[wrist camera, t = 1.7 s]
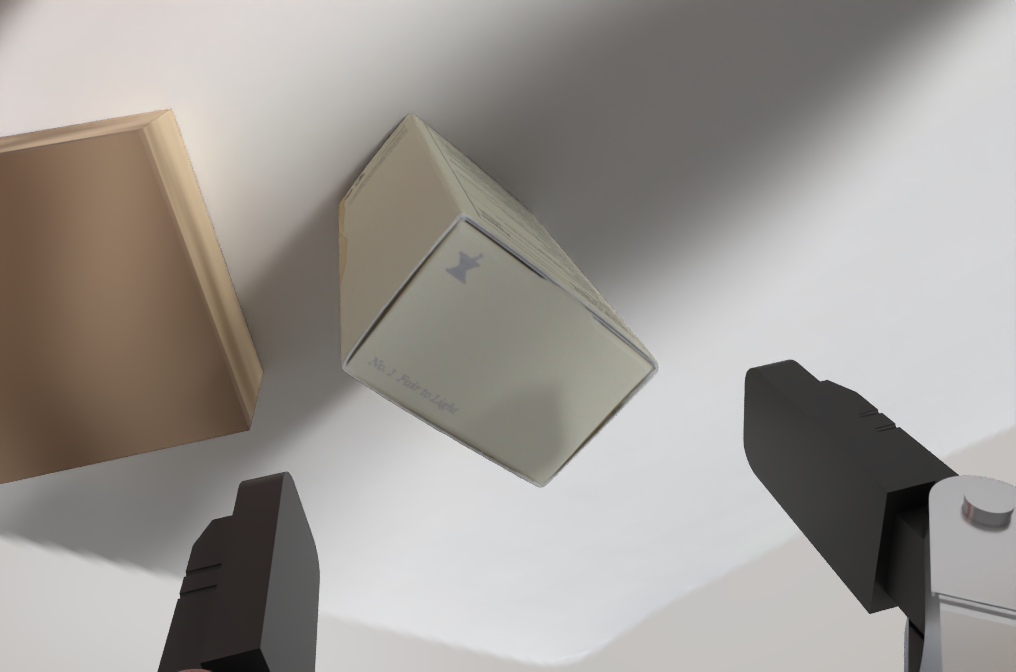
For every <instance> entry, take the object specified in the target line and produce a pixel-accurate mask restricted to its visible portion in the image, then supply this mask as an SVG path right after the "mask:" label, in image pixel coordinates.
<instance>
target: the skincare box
mask: <svg viewBox="0 0 1016 672" xmlns="http://www.w3.org/2000/svg"><path fill="white" fill-rule="evenodd" d="M338 208H339V291H340V351H341V368H342V370H343V371H345V372H346V373H347V374H349V375H350V376H352V377H353V378H355V379H356V380H358V381H359V382H361V383H362V384H364V385H365V386H367V387H369V388H370V389H372V390H373V391H375V392H376V393H377V394H379V395H380V396H382V397H384V398H385V399H387V400H388V401H390V402H392V403H394V404H395V405H397V406H398V407H400V408H401V409H403V410H405V411H406V412H408V413H410V414H412V415H413V416H415V417H417V418H418V419H420V420H421V421H423V422H425V423H426V424H428V425H430V426H431V427H433V428H435V429H436V430H438V431H440V432H441V433H444V434H445V435H447V436H449V437H451V438H452V439H454V440H456V441H457V442H459V443H460V444H462V445H464V446H466V447H467V448H469V449H471V450H473V451H474V452H476V453H478V454H480V455H481V456H483V457H485V458H486V459H488V460H490V461H492V462H494V463H496V464H497V465H499V466H501V467H503V468H504V469H506V470H508V471H509V472H511V473H513V474H515V475H516V476H518V477H520V478H522V479H524V480H526V481H527V482H529V483H532V484H533V485H535V486H537V487H544V486H546V485H547V484H548V483H549V482H550V481H551V480H552V479H553V478H554V477H555V476H556V475H558V473H559V472H560V471H561V470H562V469H563V468H564V467H565V466H566V465H567V464H568V463H569V462H570V461H571V460H572V459H573V458H574V457H575V456H576V455H577V454H578V453H579V452H580V451H581V450H582V449H583V448H584V447H585V446H586V445H587V444H588V443H589V442H590V441H591V440H592V439H593V438H594V437H595V436H596V435H597V434H599V432H600V431H601V430H602V429H603V428H604V427H605V426H606V425H607V424H608V423H609V422H610V421H611V420H612V419H613V418H614V417H615V416H616V415H617V414H618V413H619V412H620V411H621V410H622V409H623V408H624V407H625V406H626V405H627V404H628V402H629V401H630V400H631V399H632V398H633V397H634V396H635V395H636V394H637V393H638V392H639V391H640V390H641V389H642V388H643V387H644V386H645V385H646V384H647V383H648V382H649V381H650V380H651V379H652V378H653V377H654V375H655V374H656V373H657V371H658V363H657V361H656V360H655V358H654V357H653V356H652V355H651V354H650V352H649V351H648V350H647V349H646V347H645V346H644V345H643V344H642V343H641V342H640V341H639V339H638V338H637V337H636V336H635V335H634V334H633V332H632V331H631V330H630V329H629V328H628V327H627V325H626V324H625V323H624V322H623V321H622V319H621V318H620V317H619V316H618V314H617V313H616V312H615V311H614V310H613V309H612V308H611V306H610V305H609V304H608V303H607V302H606V300H605V299H604V298H603V297H602V296H601V294H600V293H599V292H598V291H597V290H596V289H595V287H594V286H593V285H592V284H591V283H590V282H589V281H588V279H587V278H586V277H585V276H584V275H583V273H582V272H581V271H580V270H579V269H578V267H577V266H576V265H575V264H574V263H573V261H572V260H571V259H570V258H569V257H568V256H567V254H566V253H565V252H564V251H563V250H562V248H561V247H560V246H559V245H558V244H557V242H556V241H555V240H554V239H553V238H552V236H551V235H550V234H549V233H548V232H547V231H546V229H545V228H544V227H543V226H542V225H541V223H540V222H539V221H538V220H537V219H536V217H535V216H534V215H533V214H532V213H531V212H530V211H529V210H527V209H526V208H525V207H524V206H523V205H522V204H521V203H520V202H518V201H517V200H516V199H515V198H514V197H513V196H512V195H511V194H509V193H508V192H507V191H506V190H505V189H504V188H503V187H501V186H500V185H499V184H498V183H497V182H496V181H494V180H493V179H492V178H491V177H490V176H489V175H487V174H486V173H485V172H484V171H483V170H482V169H480V168H479V167H478V166H477V165H475V164H474V163H473V162H472V161H471V160H470V159H468V158H467V157H466V156H465V155H464V154H462V153H461V152H460V151H459V150H458V149H456V148H455V147H454V146H453V145H451V144H450V143H449V142H448V141H447V140H445V139H444V138H443V137H442V136H440V135H439V134H438V133H437V132H435V131H434V130H433V129H432V128H430V127H429V126H428V125H427V124H425V123H424V122H423V121H422V120H420V119H419V118H418V117H417V116H415V115H414V114H408V115H407V116H406V117H405V118H404V120H403V121H402V122H401V123H400V125H399V126H398V127H397V128H396V129H395V131H394V132H393V133H392V134H391V136H390V137H389V138H388V139H387V141H386V142H385V143H384V144H383V146H382V147H381V148H380V149H379V151H378V152H377V153H376V154H375V156H374V157H373V159H372V160H371V161H370V162H369V163H368V165H367V166H366V167H365V169H364V170H363V171H362V173H361V174H360V175H359V177H358V178H357V179H356V181H355V182H354V184H353V185H352V186H351V188H350V189H349V190H348V192H347V193H346V195H345V196H344V197H343V199H342V200H341V202H340V203H339V207H338Z"/></svg>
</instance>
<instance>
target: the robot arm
mask: <svg viewBox="0 0 1016 672" xmlns="http://www.w3.org/2000/svg"><path fill="white" fill-rule="evenodd" d="M743 438H744V449H745V453H746V457H747V460H748V462H749V465H750V467H751V469H752V470H753V472H754V474H755V475H756V476H757V477H758V479H759V480H760V481H761V482H762V484H763V485H764V486H765V487H766V488H767V490H768V491H769V492H770V493H771V494H772V496H773V497H774V498H775V499H776V501H777V502H778V503H779V504H780V505H781V507H782V508H783V509H784V510H785V512H786V513H787V514H788V515H789V516H790V518H791V519H792V520H793V521H794V523H795V524H796V525H797V526H798V527H799V529H800V530H801V531H802V532H803V533H804V535H805V536H806V537H807V538H808V540H809V541H810V542H811V543H812V544H813V546H814V547H815V548H816V549H817V551H818V552H819V553H820V554H821V555H822V557H823V558H824V559H825V560H826V561H827V563H828V564H829V565H830V566H831V567H832V569H833V570H834V571H835V572H836V574H837V575H838V576H839V577H840V579H841V580H842V581H843V582H844V583H845V585H846V586H847V587H848V588H849V589H850V591H851V592H852V593H853V594H854V596H855V597H856V598H857V599H858V600H859V602H860V603H861V604H862V605H863V607H864V608H865V609H866V610H867V611H868V613H869V614H871V613H875V612H879V611H882V610H886V609H890V608H894V607H897V606H898V607H899V608H900V609H901V610H902V611H903V612H904V613H905V615H906V616H907V621H906V626H905V635H904V636H905V637H904V672H1016V487H1015V486H1013V485H1011V484H1008V483H1006V482H1003V481H1000V480H996V479H992V478H988V477H982V476H970V475H968V476H967V475H963V476H959V475H958V474H957V473H956V472H954V471H953V470H952V469H950V468H949V467H948V466H947V465H946V464H944V463H943V462H942V461H941V460H939V459H938V458H937V457H936V456H935V455H933V454H932V453H931V452H930V451H928V450H927V449H926V448H925V447H923V446H922V445H921V444H920V443H919V442H917V441H916V440H915V439H914V438H912V437H911V436H910V435H909V434H907V433H906V432H905V431H904V430H903V429H901V428H900V427H898V428H896V426H895V423H894V422H893V421H891V420H890V419H889V418H888V417H887V416H885V415H884V414H883V413H879V412H878V409H877V408H875V407H874V406H873V405H872V404H870V403H869V402H868V401H867V400H866V399H864V398H863V397H862V396H861V395H859V394H858V393H857V392H855V391H852V390H850V389H848V388H845V387H843V386H841V385H838V384H836V383H833V382H831V381H829V380H825V381H821V382H820V381H819V380H817V379H816V378H815V377H814V376H813V375H812V374H810V373H809V372H808V371H807V370H806V369H805V368H803V367H802V366H801V365H800V364H799V363H797V362H796V361H794V360H786V361H781V362H777V363H772V364H768V365H763V366H759V367H755V368H750V369H749V370H748V371H747V373H746V377H745V397H744V437H743ZM319 583H320V571H319V561H318V555H317V550H316V546H315V542H314V539H313V536H312V533H311V530H310V527H309V524H308V521H307V518H306V516H305V513H304V510H303V507H302V504H301V501H300V498H299V495H298V492H297V489H296V487H295V484H294V481H293V479H292V476H291V475H290V473H289V472H282V473H278V474H273V475H269V476H264V477H260V478H255V479H251V480H246V481H242V482H241V483H240V485H239V488H238V493H237V497H236V502H235V506H234V511H233V515H232V516H227V517H223V518H219V519H214V520H212V521H211V523H210V524H209V525H208V527H207V528H206V529H205V530H204V532H203V533H202V534H201V536H200V537H199V538H198V540H197V541H196V542H195V544H194V545H193V547H192V551H191V554H190V558H189V561H188V565H187V569H186V577H184V579H183V583H182V586H181V590H180V599H178V601H177V604H176V608H175V611H174V615H173V619H172V623H171V626H170V629H169V633H168V636H167V640H166V644H165V647H164V651H163V655H162V658H161V661H160V665H159V669H158V672H315V658H316V640H317V621H318V602H319Z"/></svg>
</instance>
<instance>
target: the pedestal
mask: <svg viewBox="0 0 1016 672" xmlns="http://www.w3.org/2000/svg"><path fill="white" fill-rule="evenodd" d="M262 376H263V371H262V368H261V365H260V362H259V359H258V356H257V353H256V350H255V347H254V344H253V342H252V339H251V336H250V333H249V330H248V327H247V324H246V321H245V318H244V316H243V313H242V310H241V307H240V304H239V301H238V298H237V295H236V292H235V290H234V287H233V284H232V281H231V278H230V275H229V272H228V269H227V266H226V264H225V261H224V258H223V255H222V252H221V249H220V246H219V243H218V240H217V238H216V235H215V232H214V229H213V226H212V223H211V220H210V217H209V214H208V212H207V209H206V206H205V203H204V200H203V197H202V194H201V191H200V188H199V186H198V183H197V180H196V177H195V174H194V171H193V168H192V165H191V162H190V160H189V157H188V154H187V151H186V148H185V145H184V142H183V139H182V136H181V134H180V131H179V128H178V125H177V122H176V119H175V116H174V113H173V110H172V108H171V109H165V110H159V111H153V112H148V113H142V114H136V115H130V116H124V117H118V118H112V119H106V120H100V121H94V122H89V123H83V124H77V125H71V126H65V127H59V128H53V129H47V130H41V131H36V132H30V133H24V134H18V135H12V136H6V137H0V484H3V483H8V482H12V481H17V480H22V479H26V478H31V477H35V476H40V475H45V474H49V473H54V472H59V471H63V470H68V469H72V468H77V467H82V466H86V465H91V464H95V463H100V462H105V461H109V460H114V459H119V458H123V457H128V456H132V455H137V454H142V453H146V452H151V451H155V450H160V449H165V448H169V447H174V446H178V445H183V444H188V443H192V442H197V441H202V440H206V439H211V438H215V437H220V436H225V435H229V434H234V433H238V432H243V431H248V430H250V426H251V422H252V418H253V414H254V410H255V405H256V401H257V397H258V393H259V389H260V385H261V381H262Z"/></svg>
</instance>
